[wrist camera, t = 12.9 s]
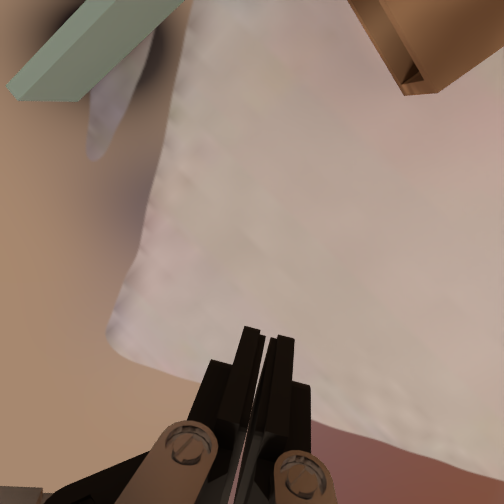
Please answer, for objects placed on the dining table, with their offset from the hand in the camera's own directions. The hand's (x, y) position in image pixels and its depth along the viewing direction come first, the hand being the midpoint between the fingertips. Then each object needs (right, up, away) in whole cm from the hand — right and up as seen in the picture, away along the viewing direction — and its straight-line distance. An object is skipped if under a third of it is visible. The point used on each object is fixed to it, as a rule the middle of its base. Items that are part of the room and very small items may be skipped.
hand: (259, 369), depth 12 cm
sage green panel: (-7, +24, +18) cm, 31 cm away
